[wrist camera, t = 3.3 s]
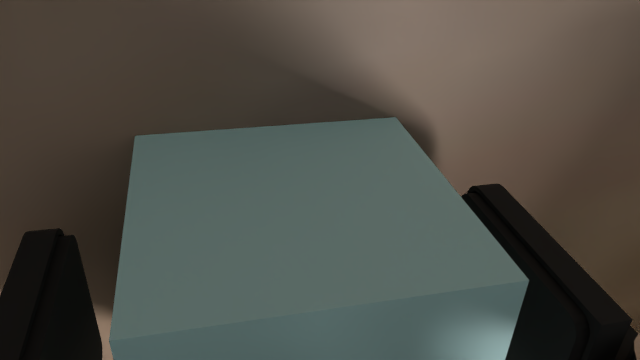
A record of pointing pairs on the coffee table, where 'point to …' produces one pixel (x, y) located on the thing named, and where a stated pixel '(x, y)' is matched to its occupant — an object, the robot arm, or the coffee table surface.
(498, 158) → the coffee table surface
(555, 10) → the coffee table surface
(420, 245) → the teal cube
